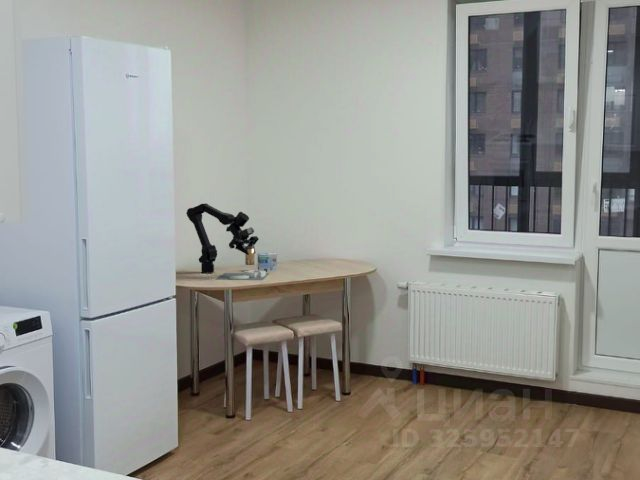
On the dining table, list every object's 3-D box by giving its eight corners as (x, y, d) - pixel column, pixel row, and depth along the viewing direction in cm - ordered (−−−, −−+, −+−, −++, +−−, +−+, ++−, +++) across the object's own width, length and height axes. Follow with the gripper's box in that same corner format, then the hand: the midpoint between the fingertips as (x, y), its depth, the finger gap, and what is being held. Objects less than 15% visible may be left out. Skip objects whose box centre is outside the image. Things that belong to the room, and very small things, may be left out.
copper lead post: (244, 265, 425) (244, 246, 424) (246, 263, 430) (245, 245, 429) (253, 265, 425) (253, 247, 423) (255, 263, 430) (255, 245, 429)
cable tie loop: (243, 275, 430) (243, 270, 430) (254, 274, 436) (254, 269, 436) (257, 277, 423) (257, 272, 423) (268, 275, 430) (268, 270, 429)
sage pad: (227, 279, 417) (227, 278, 417) (231, 276, 428) (231, 275, 428) (247, 279, 416) (247, 278, 416) (250, 276, 427) (250, 275, 427)
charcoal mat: (215, 280, 417) (215, 279, 417) (224, 273, 441) (224, 272, 441) (262, 281, 415) (262, 280, 415) (269, 274, 439) (269, 273, 439)
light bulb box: (259, 273, 444) (259, 254, 443) (257, 271, 451) (256, 253, 449) (277, 272, 447) (277, 253, 446) (275, 270, 453) (274, 252, 452)
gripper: (232, 224, 420) (246, 245, 414) (256, 221, 434) (270, 242, 429) (222, 237, 426) (236, 259, 420) (246, 234, 440) (260, 255, 435)
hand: (251, 253), depth 426 cm, fingers closed on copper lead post, 5 cm apart
